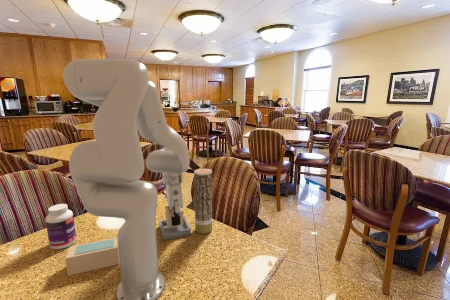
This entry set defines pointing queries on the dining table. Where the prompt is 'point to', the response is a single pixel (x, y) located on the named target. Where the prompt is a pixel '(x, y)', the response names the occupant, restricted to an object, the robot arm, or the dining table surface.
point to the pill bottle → (60, 226)
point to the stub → (169, 213)
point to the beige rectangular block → (92, 256)
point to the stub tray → (174, 230)
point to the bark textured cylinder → (203, 200)
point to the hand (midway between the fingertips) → (174, 220)
